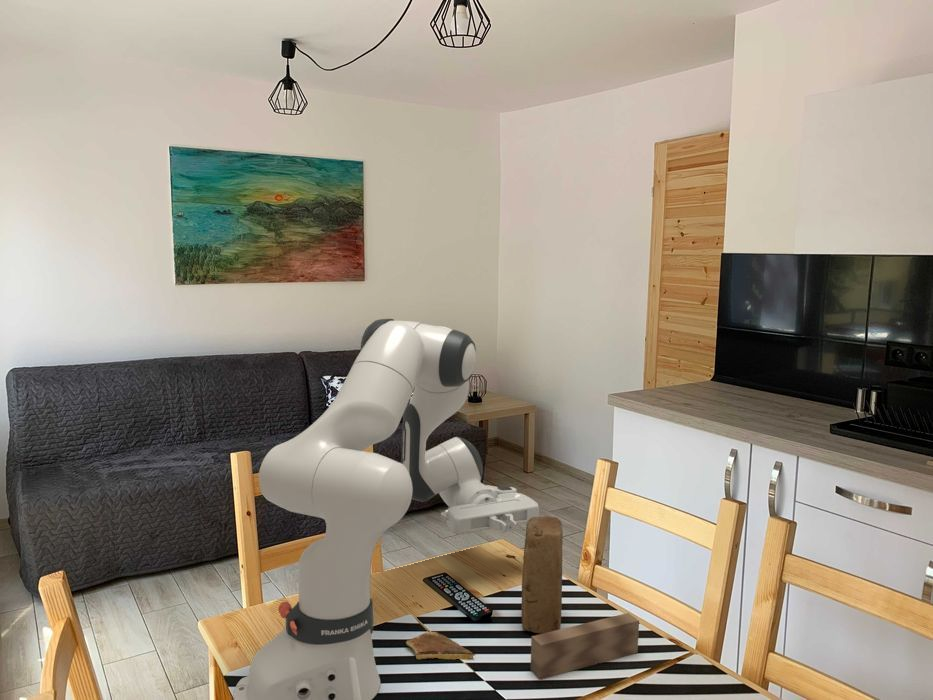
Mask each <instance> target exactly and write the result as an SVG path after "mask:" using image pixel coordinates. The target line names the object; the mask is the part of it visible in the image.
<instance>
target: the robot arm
mask: <svg viewBox="0 0 933 700" xmlns="http://www.w3.org/2000/svg"><path fill="white" fill-rule="evenodd" d="M476 361H477V348H476V344H475V342H474V341H473V339H472V338H471V337H470V335H469V334H466V333H465V332H462V331H460V330H457V329H452V328H450V327H448V326H443V325H432V324H427V323H424V322H421V321H411V320H395V319H393V318H381V319H377V320H375V321H373V322H372V323H370V324H369V325H368V326H367V327H366V328H365V330H364V332H363V335H362V337H361V341H360V352H359V354H358V355H357V356H356V358H355V360H354V362H353V364H352V365H351V368H350V370H349V372H348V373H347V376H346V378H345V380H344V382H343V383H342V385H341V387H340V389H339V391H338V393H337V394H336V396H335V397H334V399H333V401H332V402H331V404H330V405H329V407H328V408H326V410H325V411H324V412H323V413H322V415H320V416H319V417H318V418H317V419H316V420H315V421H314V422H313V423H312V424H310V425H309V426H308V427H307V428H306V429H304V430H303V431H302V432H300V433H299V434H298V435H296V436H295V437H293V438H291V439H289V440H287V441H285V442H282V443H279V444H277V445H275V446H274V447H272V448H271V449H270V450H269V451H268V452H267V453H266V455H265V456H264V458H263V460H262V462H261V465H260V468H259V472H258V484H259V489H260V492H261V494H262V495H263V497H264V498H265V499H266V500H267V501H268V502H270V503H272V504H274V505H276V506H278V507H280V508H282V509H285V510H286V511H288V512H291V513H295V514H301V515H304V516H305V515H306V516H311V517H315V518H319V519H323V520H324V522H325V525H326V528H325V535H324V537H321V538H319V539H317V540H315V541H312V543H310V544H309V545H308V546H307V547H306V548H305V549H304V551H303V552H302V554H301V556H300V557H299V559H298V560H299V561H298V565H297V566H298V574H297V575H298V601H297V603H296V604H295V605H294V606H293V607H292V605H291V603H290V602H288V601H282V602H281V603H280V604H279V605H278V608H277V610H278V613H279V615H280V617H281V618H282V619H285V628H284V629H283V630H282V631H281V632H279V633H278V634H277V635H275V636H274V637H273V638H272V639H271V640H269V641H268V642H267V643H265V644H264V645H263V646H262V647H261V648H259V649H258V650H257V651H256V652H255V654H254V656H253V658H252V661H251V665H250V667H249V674H248V675H247V676H245V677H242V678H241V679H240V680H239V681H238V682H237V684H236V686H235V688H234V692H233V700H373V699H374V698H375V697H376V696H377V694H378V692H379V691H380V688H381V678H380V675H379V672H378V669H377V665H376V660H375V656H374V655H375V654H374V653H375V652H374V647H373V639H372V634H373V632H374V624H375V621H374V620H375V615H374V614H375V611H374V609H375V608H374V604H373V603H374V601H373V599H372V598H371V577H372V576H371V574H372V573H371V572H372V560H373V556H374V555H373V554H374V552H375V549H376V545H377V543H378V541H379V540H380V538H381V537H382V535H383V534H384V533H385V532H386V531H387V530H388V529H390V528H391V527H392V526H394V525H396V524H397V523H398V522H399V521H401V519H402V518H403V517H404V516H405V514H406V513H407V511H408V510H409V507H410V505H411V503H412V500H413V501H417V502H423V503H426V502H427V501H429V500H430V499H432V498H433V497H435V496H436V495H437V494H439V496H440V497H441V499H442V500H443V502H444V503H445V505H447V506H448V508H447V509H444V510H443V511H441V512H440V513H439V514H440V515H439V516H440V518H441V519H442V520H444V521H446V524H447V526H448V528H449V529H450V530H451V532H452V533H454V534H456V535H464V534H469V533H470V534H471V533H474V532H481V531H487V530H491V529H492V530H497V531H501V532H502V533H506V532H507V533H508V532H511V531H512V532H514V531H517V525H520V524H524V523H525V524H527V522H528V520H529V519H531V518H532V517H540V516H539V515H540V506H539V504H538V502H536V501H535V500H534V499H533V498H531V497H529V496H528V495H525V494H523V493H521V492H518V491H517V488H515V487H512V486H493V485H489V484H485V483H482V482H481V481H482V478H483V474H484V473H483V472H484V467H483V462H482V458H481V456H480V453H479V451H478V450H477V448H476V447H475V445H473V444H472V443H471V442H470V441H468V439H465V438H462V437H459V436H454V437H452V438H450V439H448V440H446V441H443V442H441V443H440V444H438V445H436V446H434V447H432V448H430V449H428V450H426V447H427V440H428V438H429V436H430V435H431V434H432V433H433V432H434V430H435V429H437V428H438V427H439V426H441V424H443V423H445V421H446V420H447V419H449V418H450V417H452V416H453V415H455V414H456V413H457V412H458V411H459V410H460V409H461V408H462V407H463V406H464V405H465V402H466V401H467V399H468V395H469V390H470V378H471V377H472V375H473V371H474V369H475V367H476ZM401 420H402V433H401V434H402V436H401V458H400V459H401V461H400V462H399V461H397V460H395V459H392V458H389V457H387V456H385V455H382V454H380V453H377V452H372V451H371V452H370V451H365V450H366V449H367V448H369V447H371V446H373V445H375V444H378V443H381V442H383V441H385V440H388V438H390V437H391V436H392V435H393V434H394V433H395V432H396V430H397V428H398V427H399V425H400V422H401Z"/></svg>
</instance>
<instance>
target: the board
mask: <svg viewBox="0 0 933 700" xmlns="http://www.w3.org/2000/svg"><path fill="white" fill-rule="evenodd" d="M639 630H640V620H639V619H637V617H634V615H633V614H630V613H629V612H626V613H621V614H618V615H613V616H610V617H606V618H601V619H597V620H593V621H589V622H585V623H584V622H583V623H582V624H576V625H573V626H568V627H564V628H560V629H559V630H556V631H551V632H547V633H543V634H540V633H538V634H536V635H532V636H531V640H530V643H531V644H530V671H531V673H533V674H534V675H535V677H537V678H538V679H539V680H540V679H541V680H544V679H547V678H551V677H554V675H555V676H559V675H563V674H566V673H569V671H570V672H573V671H576V670H581V669H584V668H587V667H591V666H594V665H598V663H599V664H602V663H605V662H610V661H613V660H616V659H621V658H624V657H628V656H631V654H632V655H634V654H637V653H638V650H639V633H640V631H639ZM627 655H628V656H627ZM558 674H559V675H558ZM543 678H544V679H543Z"/></svg>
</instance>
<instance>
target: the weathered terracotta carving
mask: <svg viewBox="0 0 933 700" xmlns="http://www.w3.org/2000/svg"><path fill="white" fill-rule="evenodd" d="M563 532H564V531H563V524H562V521H561V520H560V519H559V518H558V517H554V516H553V517H552V516H546V515H545V516H539V517H532V518H531V519H529V520H528V522H526V528H525V540H524V546H523V547H524V548H523V564H522V574H521V575H522V576H521V577H522V580H521V624H522V627H523V629H524V630H526V631H527V632H531V633H535V634H543V633H547V632H551V631H556V630H560V629H561V624H562V605H563V604H562V603H563V600H562V599H563V598H562V597H563V541H564V538H563Z"/></svg>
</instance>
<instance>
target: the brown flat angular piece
mask: <svg viewBox="0 0 933 700" xmlns="http://www.w3.org/2000/svg"><path fill="white" fill-rule="evenodd" d="M405 643H406V645H407V646H408V647H409V648H411V649H412V650H413V651H414V654H415V658H416V660H423V659H424V660H426V659H427V658H428V659H434V658H438V659H437V660H439V659H440V660H456V659H462V660H472V659H473V660H474V657H475V656H476V653H475V652H474V653H473V652H472V651H470V650H469V649H467V648H465V647H464V646H461V645H460V644H459V643H457V642H456V641H454V640H452V639H450V638H449V637H447V636H445V635H444V634H441V633H439V632H438V631H427V632H424V633H421V634H419V635H417V636H415V637H413V638H410V639H408V640H406V642H405ZM471 658H472V659H471Z"/></svg>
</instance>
